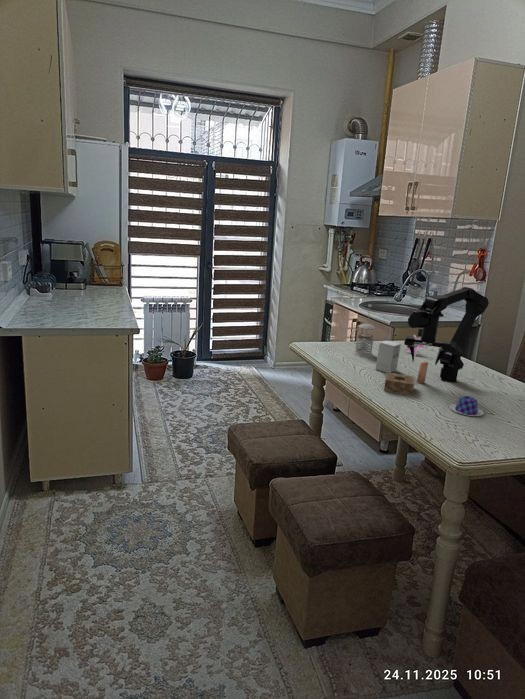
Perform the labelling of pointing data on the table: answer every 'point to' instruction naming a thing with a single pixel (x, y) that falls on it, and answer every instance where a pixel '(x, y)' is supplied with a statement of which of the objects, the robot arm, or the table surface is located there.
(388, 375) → the bore block
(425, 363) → the pin
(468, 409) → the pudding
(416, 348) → the lily
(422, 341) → the robot arm
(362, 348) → the french press
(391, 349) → the supplement box
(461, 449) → the table surface
